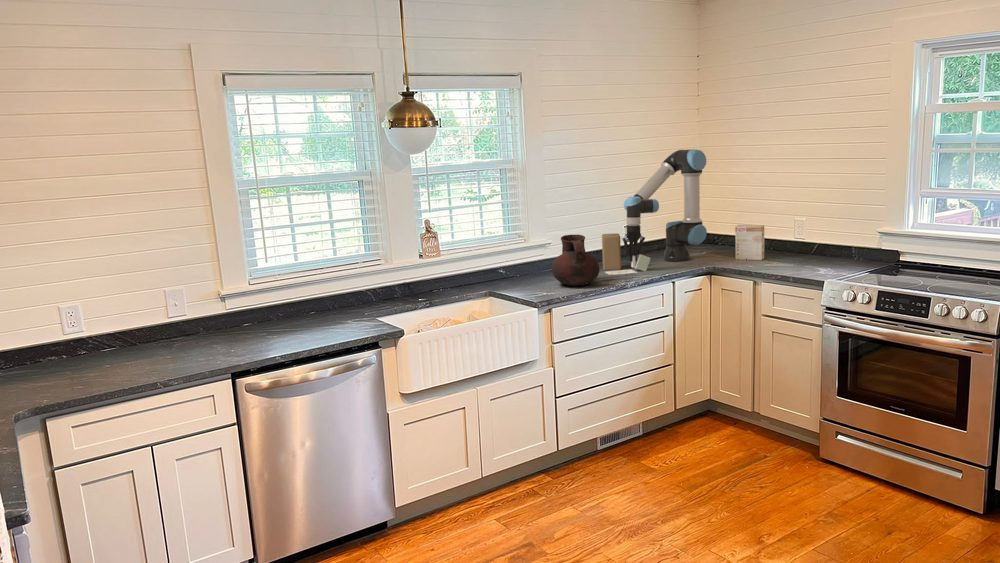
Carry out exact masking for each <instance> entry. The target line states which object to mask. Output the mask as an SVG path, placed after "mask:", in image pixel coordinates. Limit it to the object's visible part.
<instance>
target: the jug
mask: <svg viewBox="0 0 1000 563" xmlns="http://www.w3.org/2000/svg"><path fill="white" fill-rule="evenodd" d="M585 239H586V236H584V235H582V234H564V235H563V236H561V237H560V241H561V245H562V250H561V254H560V255H558V256H557V257H555V258H554V260H553V261H552V264H551V274H552V276H553V277H554V278H555V279H556V280H557V281H558V282H559V283H561V284H563V285H566V286H569V287H571V286H572V287H582V286H585V285H589V284H591V283H592V282H593V281H595V280H596V279H597V278H598V276H599V273H600V264H599V261H598V260H597V259H596V258H595V257H594V256H593V255H592V254H590V253H588V252H586V249H585V248H586V247H585Z"/></svg>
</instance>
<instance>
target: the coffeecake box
mask: <svg viewBox="0 0 1000 563" xmlns="http://www.w3.org/2000/svg"><path fill="white" fill-rule="evenodd" d="M734 231H735V232H734V233H735V237H734V238H735V248H734V249H735V250H734V251H735V260H736V261H737V260H738V259H739V260H738V261H740V260H741V261H742V260H743V261H745V260H746V259H747V260H746V261H762V259H763V260H764V259H765V225H764V224H758V225H757V224H756V225H755V224H746V225H745V224H742V225H741V224H738V225H736V226H735V228H734Z"/></svg>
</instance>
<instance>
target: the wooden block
mask: <svg viewBox="0 0 1000 563" xmlns="http://www.w3.org/2000/svg"><path fill="white" fill-rule="evenodd" d="M621 246H622V245H621V236H620V233H603V234H601V248H602V249H601V253H602V268H603V271H619V270H621V269H622V254H621V253H622V252H621V251H622V249H621V248H622V247H621Z"/></svg>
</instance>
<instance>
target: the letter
mask: <svg viewBox="0 0 1000 563" xmlns="http://www.w3.org/2000/svg"><path fill="white" fill-rule="evenodd" d="M604 273H606V274H607V275H609V276H612V275H613V276H614V275H625V274H638V272H637V271H635V270H634V269H622V270H607V271H604Z"/></svg>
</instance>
